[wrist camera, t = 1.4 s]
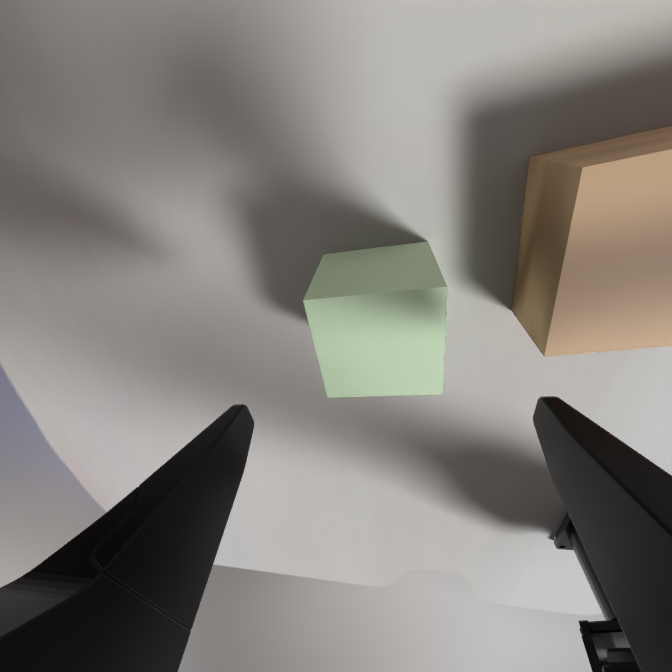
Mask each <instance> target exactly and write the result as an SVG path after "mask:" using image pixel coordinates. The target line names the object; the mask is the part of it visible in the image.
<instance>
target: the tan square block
mask: <svg viewBox="0 0 672 672" xmlns="http://www.w3.org/2000/svg"><path fill="white" fill-rule="evenodd" d="M512 312H513V313H514V315H515V316H516V318H517V319H518V320H519V322H520V323H521V325H522V326H523V328H524V329H525V330H526V332H527V333H528V335H529V336H530V337H531V339H532V340H533V342H534V343H535V344H536V346H537V347H538V349H539V350H540V351H541V353H542V354H543V356H544V357H545V356H557V355H569V354H580V353H592V352H604V351H615V350H627V349H639V348H651V347H662V346H672V125H671V126H667V127H662V128H657V129H653V130H648V131H644V132H639V133H635V134H630V135H626V136H621V137H617V138H612V139H608V140H603V141H598V142H594V143H589V144H585V145H580V146H576V147H571V148H567V149H562V150H558V151H553V152H548V153H544V154H539V155H535V156H530V157H529V165H528V174H527V183H526V192H525V200H524V209H523V218H522V227H521V235H520V244H519V253H518V262H517V270H516V279H515V288H514V296H513V305H512Z"/></svg>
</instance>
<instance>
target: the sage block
mask: <svg viewBox="0 0 672 672" xmlns="http://www.w3.org/2000/svg"><path fill="white" fill-rule="evenodd" d="M446 300H447V285H446V283H445V281H444V278H443V276H442V273H441V271H440V269H439V266H438V264H437V262H436V259H435V257H434V255H433V252H432V250H431V248H430V245H429V243H428V241H425V242H417V243H409V244H401V245H393V246H385V247H377V248H369V249H361V250H353V251H345V252H337V253H329V254H323V257H322V259H321V261H320V263H319V266H318V268H317V270H316V272H315V274H314V277H313V279H312V281H311V283H310V286H309V288H308V290H307V292H306V294H305V297H304V299H303V303H304V307H305V311H306V315H307V318H308V322H309V326H310V330H311V334H312V338H313V342H314V346H315V350H316V354H317V358H318V362H319V366H320V370H321V374H322V378H323V382H324V386H325V390H326V394H327V397H328V398H333V397H366V396H400V395H434V394H443V371H444V347H445V323H446Z"/></svg>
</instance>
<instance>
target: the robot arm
mask: <svg viewBox="0 0 672 672" xmlns="http://www.w3.org/2000/svg"><path fill="white" fill-rule="evenodd" d="M533 422H534V426H535V429H536V432H537V435H538V438H539V441H540V444H541V447H542V450H543V453H544V456H545V459H546V462H547V465H548V468H549V471H550V474H551V476H552V479H553V481H554V483H555V486H556V488H557V490H558V492H559V494H560V496H561V498H562V501H563V503H564V505H565V507H566V509H567V511H568V516H567V518H566V520H565V521H564V523H563V525H562V527H561V529H560V531H559V533H558V535H557V537H556V539H555V541H554V544H555V546H556V548H558V549H567V550H574V552H575V554H576V556H577V558H578V560H579V563H580V565H581V567H582V569H583V571H584V574H585V576H586V578H587V580H588V582H589V584H590V587H591V589H592V591H593V593H594V595H595V598H596V600H597V602H598V604H599V606H600V608H601V611H602V613H603V615H604V617H605V619H606V621H594V622H588V621H587V620H586V621H579V624H580V627H581V628H580V632H581V634H582V639H583V642H584V645H585V649H586V651H587V655H588V658H589V662H590V665H591V668H592V671H593V672H672V476H671V475H670V474H669V473H667V472H666V471H664V470H663V469H661V468H660V467H658V466H657V465H655V464H654V463H653V462H651V461H650V460H648V459H647V458H645V457H644V456H642V455H641V454H639V453H638V452H637V451H635V450H634V449H632V448H631V447H629V446H628V445H626V444H625V443H624V442H622V441H621V440H619V439H618V438H616V437H615V436H613V435H612V434H610V433H609V432H608V431H606V430H605V429H603V428H602V427H600V426H599V425H597V424H596V423H594V422H593V421H592V420H590V419H589V418H587V417H586V416H584V415H583V414H581V413H580V412H579V411H577V410H576V409H574V408H573V407H571V406H570V405H568V404H567V403H565V402H564V401H563V400H561V399H560V398H558V397H554V396H550V397H540V398H539V399H538V401H537V405H536V408H535V412H534V415H533ZM253 429H254V420H253V418H252V416H251V414H250V412H249V410H248V407H247V406H246V405H244V404H242V405H233V406H232V407H230V408H229V409H228V410H227V411H226V412H225V413H223V414H222V415H221V416H220V417H219V418H218V419H216V420H215V421H214V422H213V423H212V424H210V425H209V426H208V427H207V428H206V429H205V430H203V431H202V432H201V433H200V434H199V435H198V436H196V437H195V438H194V439H193V440H192V441H191V442H189V443H188V444H187V445H186V446H185V447H184V448H182V449H181V450H180V451H179V452H178V453H177V454H175V455H174V456H173V457H172V458H171V459H170V460H168V461H167V462H166V463H165V464H164V465H163V466H161V467H160V468H159V469H158V470H157V471H156V472H154V473H153V474H152V475H151V476H150V477H148V478H147V479H146V480H145V481H144V482H143V483H141V484H140V485H139V487H137V488H136V489H134V490H133V491H132V492H131V493H130V494H128V495H127V496H126V497H125V498H124V499H123V500H121V501H120V502H119V503H118V504H117V505H115V506H114V507H113V508H112V509H110V510H109V511H108V512H107V513H106V514H104V515H103V516H102V517H100V518H99V519H98V520H97V521H95V522H94V523H93V524H92V525H90V526H89V527H88V528H86V529H85V530H84V531H82V532H81V533H80V534H79V535H77V536H76V537H75V538H73V539H72V540H71V541H69V542H68V543H67V544H65V545H64V546H63V547H62V548H60V549H59V550H58V551H56V552H55V553H54V554H52V555H51V556H50V557H48V558H47V559H46V560H44V561H43V562H42V563H41V564H39V565H38V566H36V567H35V568H34V569H32V570H31V571H30V572H28V573H26V574H25V575H23V576H22V577H20V578H18V579H17V580H15V581H13V582H11V583H9V584H7V585H5V586H3V587H1V588H0V672H178V669H179V666H180V663H181V660H182V656H183V654H184V651H185V648H186V645H187V642H188V638H189V635H190V632H191V629H192V626H193V623H194V620H195V617H196V614H197V611H198V608H199V605H200V602H201V599H202V596H203V593H204V590H205V587H206V584H207V581H208V578H209V575H210V572H211V569H212V566H213V563H214V560H215V557H216V554H217V551H218V548H219V545H220V542H221V539H222V536H223V533H224V530H225V527H226V524H227V521H228V518H229V515H230V512H231V509H232V506H233V503H234V500H235V497H236V494H237V491H238V488H239V484H240V481H241V478H242V475H243V472H244V469H245V465H246V460H247V456H248V451H249V447H250V442H251V438H252V433H253Z"/></svg>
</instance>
